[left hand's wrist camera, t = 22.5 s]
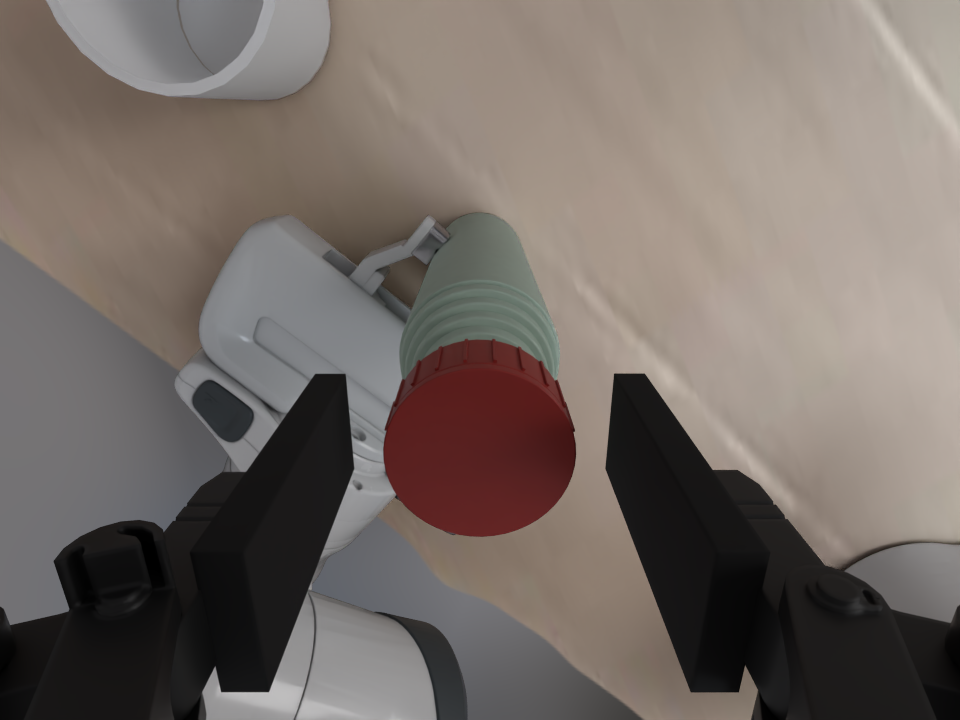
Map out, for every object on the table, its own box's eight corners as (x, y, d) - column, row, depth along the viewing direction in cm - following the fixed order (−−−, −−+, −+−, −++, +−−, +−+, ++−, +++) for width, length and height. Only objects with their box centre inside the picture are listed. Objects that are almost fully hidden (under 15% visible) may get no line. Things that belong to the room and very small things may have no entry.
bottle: (475, 193, 34) (469, 289, 12) (540, 253, 35) (638, 435, 13) (418, 260, 35) (322, 451, 14) (482, 314, 37) (487, 569, 15)
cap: (583, 468, 15) (597, 513, 13) (425, 509, 16) (418, 558, 14) (541, 315, 14) (551, 342, 12) (367, 365, 14) (351, 398, 12)
